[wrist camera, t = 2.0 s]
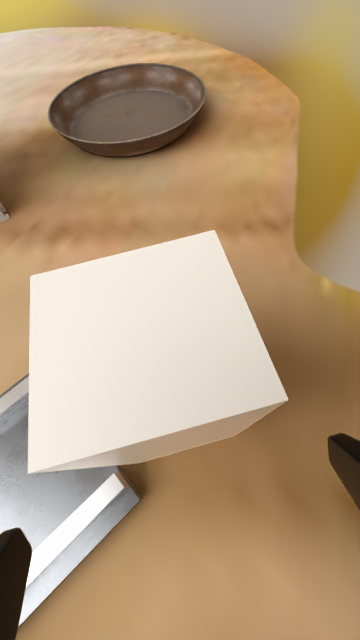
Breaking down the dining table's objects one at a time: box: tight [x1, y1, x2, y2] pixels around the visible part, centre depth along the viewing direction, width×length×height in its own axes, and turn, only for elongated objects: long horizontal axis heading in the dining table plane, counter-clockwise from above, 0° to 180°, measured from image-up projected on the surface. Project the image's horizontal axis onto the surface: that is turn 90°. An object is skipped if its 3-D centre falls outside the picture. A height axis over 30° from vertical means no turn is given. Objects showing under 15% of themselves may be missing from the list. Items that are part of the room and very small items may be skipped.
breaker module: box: [28, 230, 288, 474], centre depth 14 cm, size 7×6×13 cm
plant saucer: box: [48, 63, 206, 156], centre depth 36 cm, size 21×21×3 cm
